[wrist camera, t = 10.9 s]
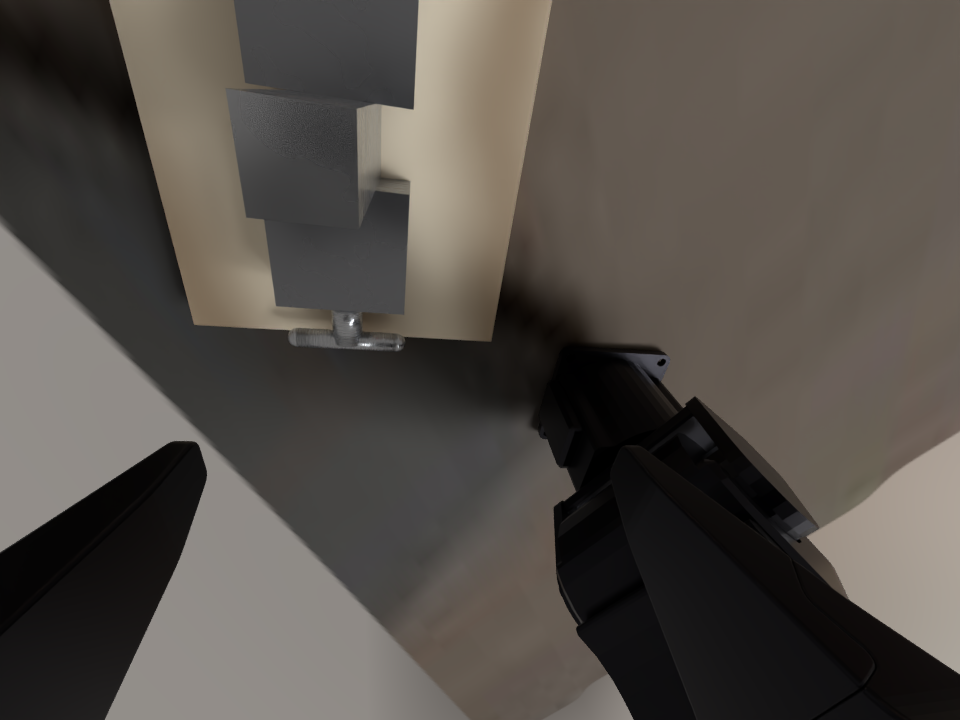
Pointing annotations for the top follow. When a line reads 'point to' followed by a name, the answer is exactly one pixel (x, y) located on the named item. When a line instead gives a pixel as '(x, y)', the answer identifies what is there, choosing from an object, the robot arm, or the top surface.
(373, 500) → the top surface
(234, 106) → the bench vise
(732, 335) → the top surface
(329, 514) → the top surface
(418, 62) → the board
